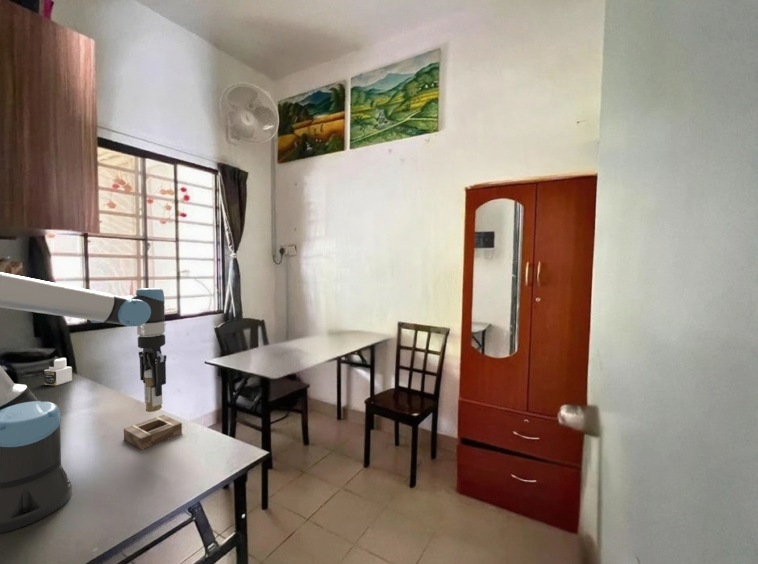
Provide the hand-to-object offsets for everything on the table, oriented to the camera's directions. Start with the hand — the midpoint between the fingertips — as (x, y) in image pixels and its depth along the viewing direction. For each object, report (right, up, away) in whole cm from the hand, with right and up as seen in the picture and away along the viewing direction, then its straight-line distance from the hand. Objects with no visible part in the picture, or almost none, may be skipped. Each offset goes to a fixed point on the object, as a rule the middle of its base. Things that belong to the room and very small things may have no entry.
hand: (153, 403), depth 108 cm
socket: (0, -11, 0) cm, 11 cm away
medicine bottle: (-82, -9, +50) cm, 97 cm away
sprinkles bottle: (0, -2, 0) cm, 2 cm away
